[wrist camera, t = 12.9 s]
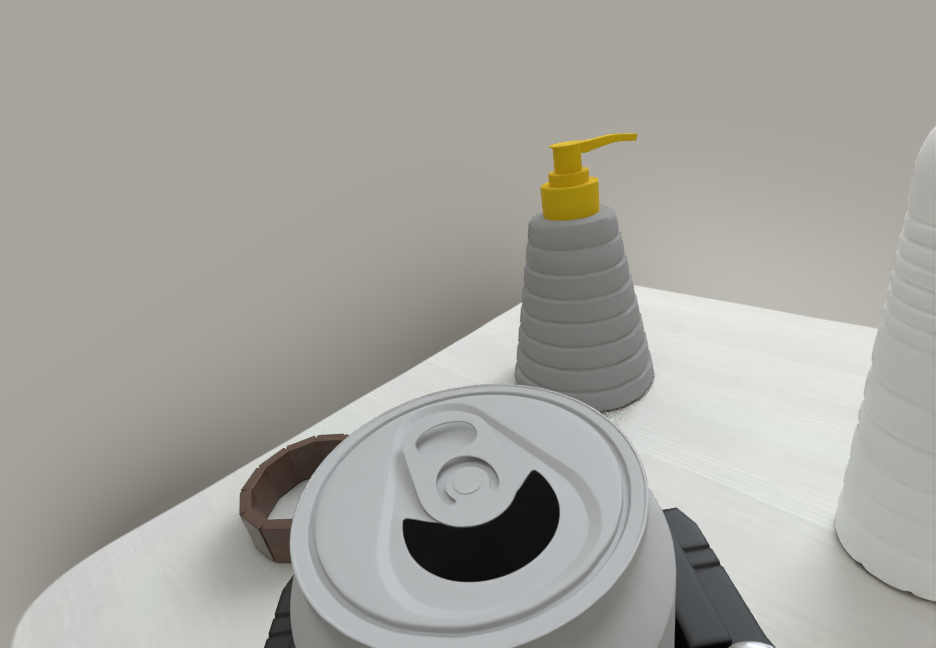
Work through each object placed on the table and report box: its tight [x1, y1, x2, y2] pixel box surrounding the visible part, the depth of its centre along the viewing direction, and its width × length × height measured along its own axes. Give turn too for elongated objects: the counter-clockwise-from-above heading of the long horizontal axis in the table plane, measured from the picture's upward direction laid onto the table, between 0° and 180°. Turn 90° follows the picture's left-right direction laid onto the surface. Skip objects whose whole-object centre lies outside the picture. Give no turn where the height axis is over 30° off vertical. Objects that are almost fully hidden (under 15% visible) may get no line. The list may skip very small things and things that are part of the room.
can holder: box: [240, 434, 349, 563], centre depth 34 cm, size 9×9×3 cm
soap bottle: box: [515, 133, 654, 412], centre depth 40 cm, size 12×12×20 cm
